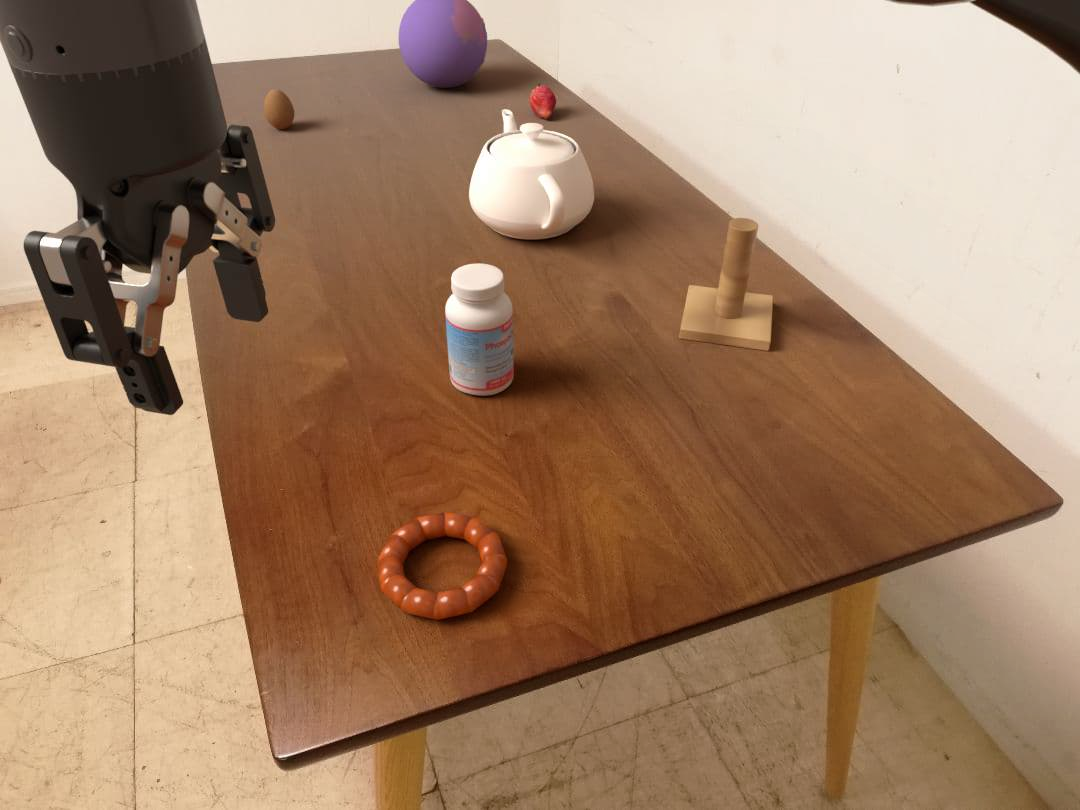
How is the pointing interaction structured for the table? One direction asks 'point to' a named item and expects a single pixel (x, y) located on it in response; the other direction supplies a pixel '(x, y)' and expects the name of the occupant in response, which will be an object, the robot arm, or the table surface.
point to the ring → (450, 600)
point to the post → (730, 299)
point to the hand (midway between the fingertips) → (209, 359)
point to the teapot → (531, 182)
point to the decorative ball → (443, 41)
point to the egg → (278, 109)
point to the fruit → (542, 101)
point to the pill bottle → (479, 331)
